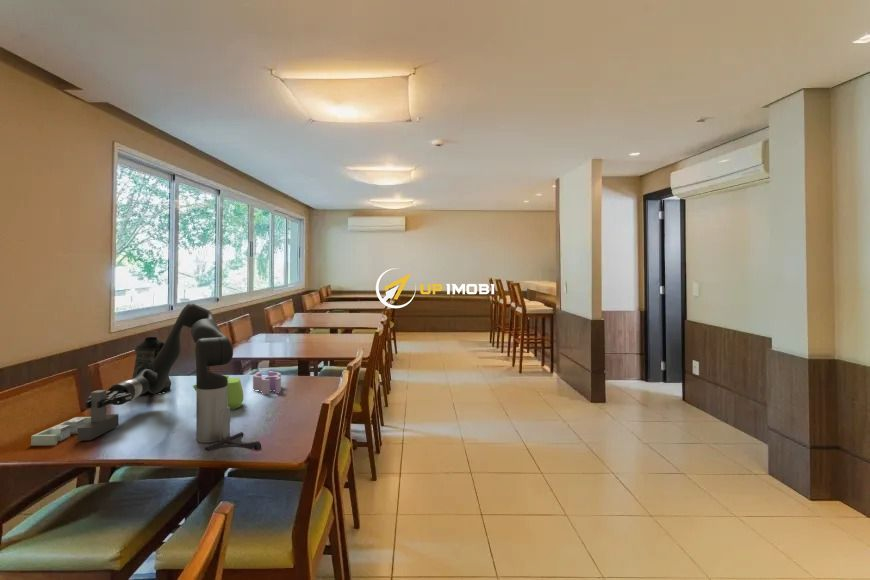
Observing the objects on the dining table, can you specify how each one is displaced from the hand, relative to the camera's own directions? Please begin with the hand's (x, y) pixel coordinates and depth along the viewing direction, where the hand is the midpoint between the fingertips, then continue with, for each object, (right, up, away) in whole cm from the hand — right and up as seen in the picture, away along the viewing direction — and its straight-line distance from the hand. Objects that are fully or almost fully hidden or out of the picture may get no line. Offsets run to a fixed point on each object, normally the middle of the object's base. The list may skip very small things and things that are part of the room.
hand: (92, 405), depth 147 cm
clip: (+33, -10, +65) cm, 74 cm away
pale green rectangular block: (-10, -11, +2) cm, 15 cm away
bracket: (+51, -12, -5) cm, 53 cm away
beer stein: (-17, -9, +59) cm, 62 cm away
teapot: (+25, -10, +35) cm, 44 cm away
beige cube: (-10, -11, +6) cm, 16 cm away
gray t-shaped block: (0, -10, +3) cm, 11 cm away
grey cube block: (-10, -11, -1) cm, 15 cm away
